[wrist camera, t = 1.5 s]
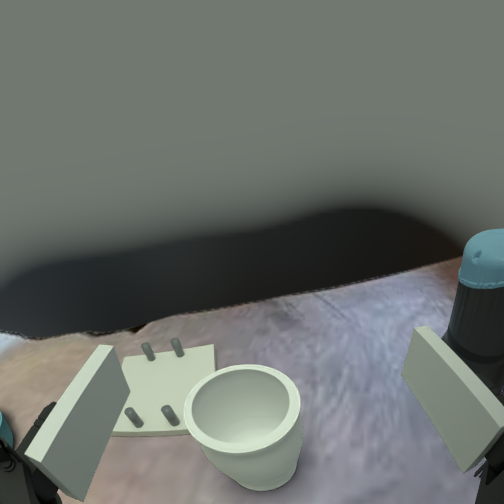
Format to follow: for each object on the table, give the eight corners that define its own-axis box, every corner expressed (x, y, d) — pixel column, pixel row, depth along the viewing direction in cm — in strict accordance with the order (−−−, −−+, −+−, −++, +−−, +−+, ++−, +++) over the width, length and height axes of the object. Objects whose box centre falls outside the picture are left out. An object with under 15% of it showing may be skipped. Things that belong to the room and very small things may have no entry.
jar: (317, 445, 28) (317, 375, 23) (283, 509, 20) (266, 470, 15) (246, 424, 34) (221, 353, 28) (207, 478, 26) (159, 420, 20)
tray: (215, 349, 51) (208, 329, 49) (220, 430, 33) (211, 412, 31) (127, 362, 50) (117, 344, 48) (107, 435, 32) (91, 418, 30)
